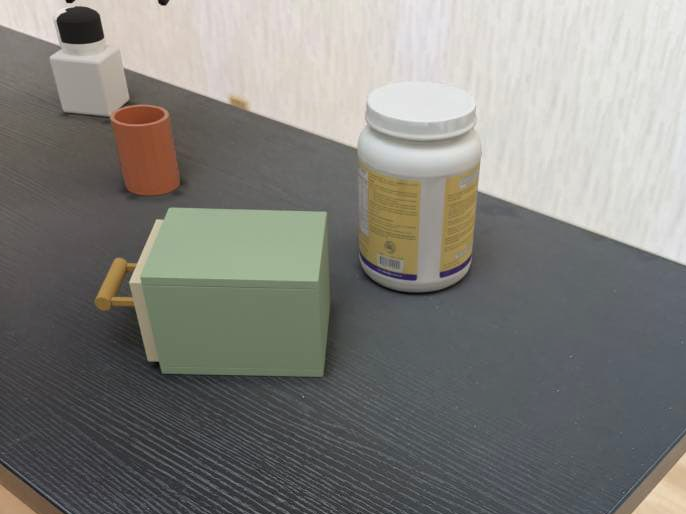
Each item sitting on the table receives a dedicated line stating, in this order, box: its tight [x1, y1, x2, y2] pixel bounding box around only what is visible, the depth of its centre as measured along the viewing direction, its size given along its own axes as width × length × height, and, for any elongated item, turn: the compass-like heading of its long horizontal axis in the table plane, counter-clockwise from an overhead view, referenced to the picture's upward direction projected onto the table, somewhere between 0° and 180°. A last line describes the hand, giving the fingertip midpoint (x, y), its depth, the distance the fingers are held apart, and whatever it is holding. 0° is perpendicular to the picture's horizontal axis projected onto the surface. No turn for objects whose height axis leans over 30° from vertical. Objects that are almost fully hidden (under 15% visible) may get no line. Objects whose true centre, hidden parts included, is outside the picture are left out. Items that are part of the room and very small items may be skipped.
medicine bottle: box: [49, 5, 130, 118], centre depth 112 cm, size 7×7×12 cm
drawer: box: [94, 219, 164, 363], centre depth 74 cm, size 18×11×8 cm, turn 91°
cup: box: [109, 104, 181, 197], centre depth 96 cm, size 7×7×8 cm
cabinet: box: [140, 207, 331, 378], centre depth 74 cm, size 15×13×10 cm
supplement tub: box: [356, 81, 483, 293], centre depth 81 cm, size 12×12×17 cm
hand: (119, 0), depth 85 cm, fingers open, 9 cm apart
